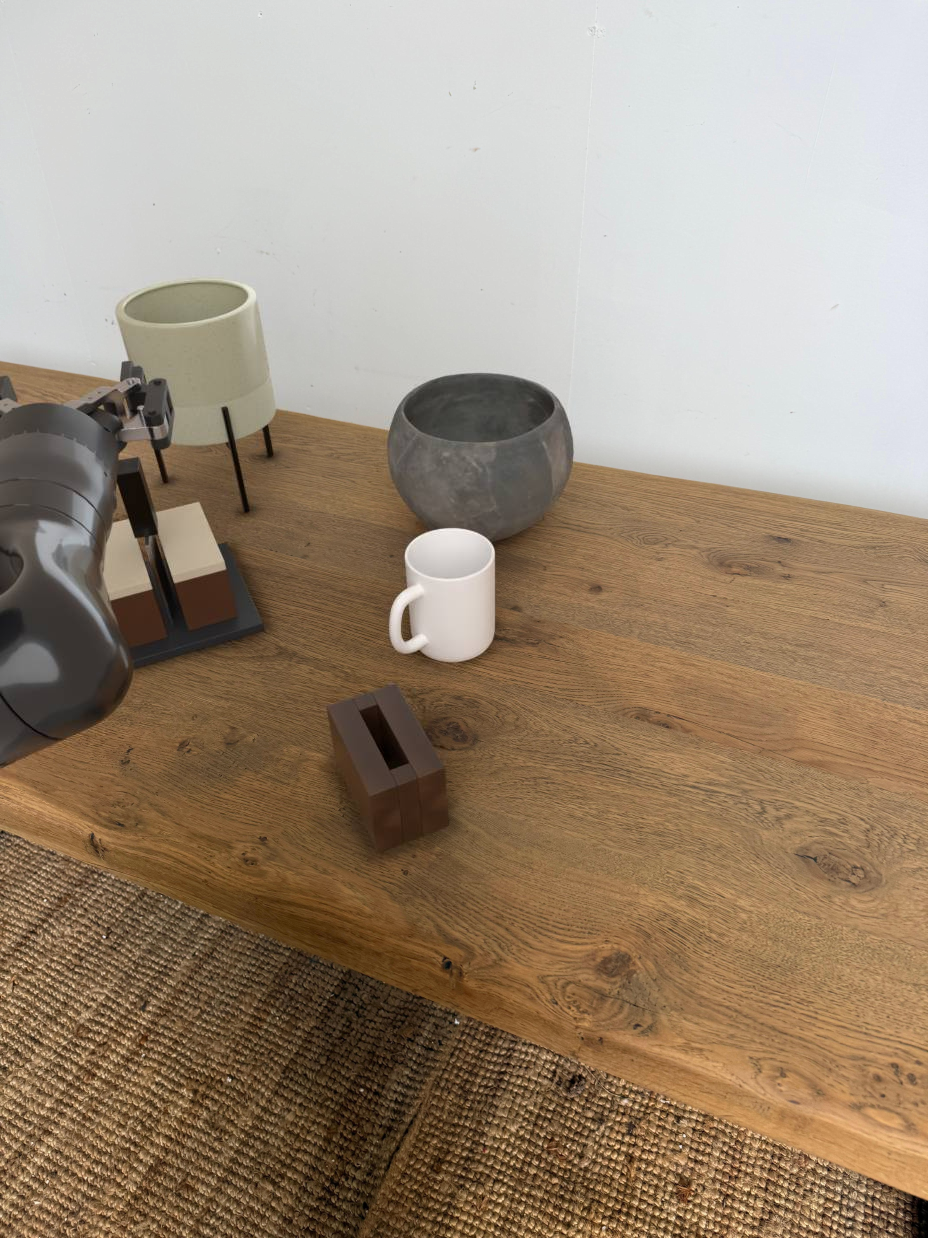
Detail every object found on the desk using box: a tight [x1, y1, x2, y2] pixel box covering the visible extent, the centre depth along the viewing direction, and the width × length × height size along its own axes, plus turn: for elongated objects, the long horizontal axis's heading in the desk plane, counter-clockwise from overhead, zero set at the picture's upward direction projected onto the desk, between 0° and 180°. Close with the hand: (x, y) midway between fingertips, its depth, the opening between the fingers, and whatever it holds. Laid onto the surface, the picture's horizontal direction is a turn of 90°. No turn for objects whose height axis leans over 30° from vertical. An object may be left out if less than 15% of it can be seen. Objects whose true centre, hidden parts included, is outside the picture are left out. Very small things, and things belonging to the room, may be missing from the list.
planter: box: [114, 277, 277, 514], centre depth 103 cm, size 15×16×23 cm
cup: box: [388, 528, 496, 663], centre depth 81 cm, size 8×12×10 cm
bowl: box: [386, 372, 575, 543], centre depth 97 cm, size 20×20×15 cm
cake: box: [103, 501, 265, 670], centre depth 88 cm, size 16×16×8 cm
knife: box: [116, 456, 172, 619], centre depth 84 cm, size 2×6×16 cm, turn 17°
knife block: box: [325, 683, 449, 854], centre depth 69 cm, size 6×10×7 cm, turn 25°
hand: (69, 380), depth 63 cm, fingers open, 8 cm apart
